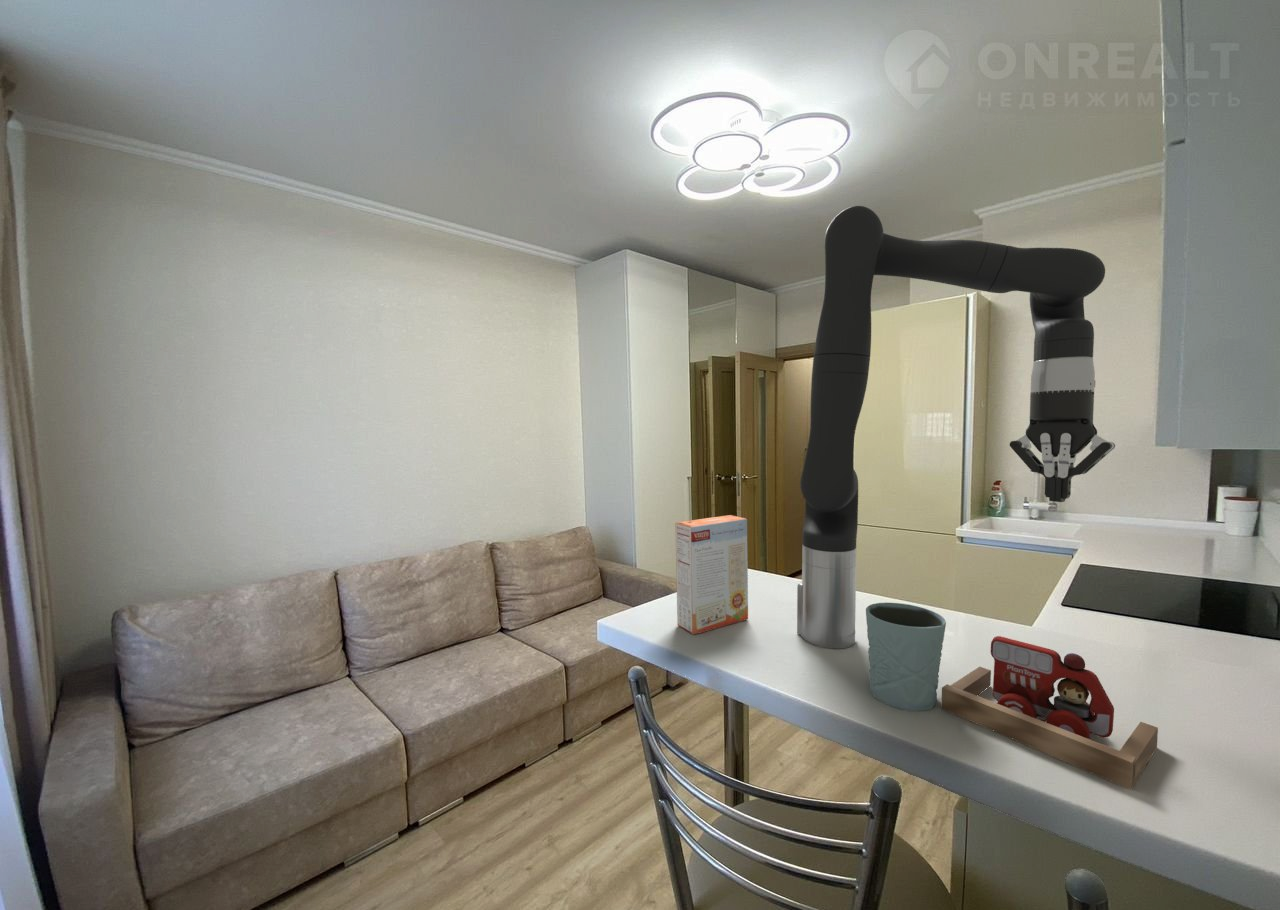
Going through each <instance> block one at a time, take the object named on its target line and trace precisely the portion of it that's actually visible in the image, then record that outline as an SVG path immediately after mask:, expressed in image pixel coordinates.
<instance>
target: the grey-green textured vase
mask: <svg viewBox="0 0 1280 910" xmlns="http://www.w3.org/2000/svg"><path fill="white" fill-rule="evenodd" d="M865 617H866V627H867V628H866V629H867V630H866V631H867V633H866V635H867V640H868V646H869V647H868V652H867V653H868V663H869V664H868V666H869V670H868V671H869V689H870V692H871V694H872V695H873V696H874V697H875V698H876V699H877V700H879V701H880V702H881V703H883V704H885V705H887V706H890V707H893V708H896V709H900V710H904V711H910V712H923V711H924V712H925V711H928V710H931V709H933V708H934V707H935V705H936V703H937V697H938V696H937V695H938V692H937V690H938V688H939V687H938V686H939V682H940V681H939V676H940V675H939V673H940V665H941V660H942V659H941V658H942V651H943V643H944V640H945V639H944V638H945V632H946V627H947V626H946V625H947V622H946V619H945V617H944V616H942V615H941V614H939V613H938V612H935V611H933V610H931V609H928V608H925V607H921V606H918V605H913V604H907V603H899V602H876V603H872V604H869V605H868V606H867V607H866V608H865Z"/></svg>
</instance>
